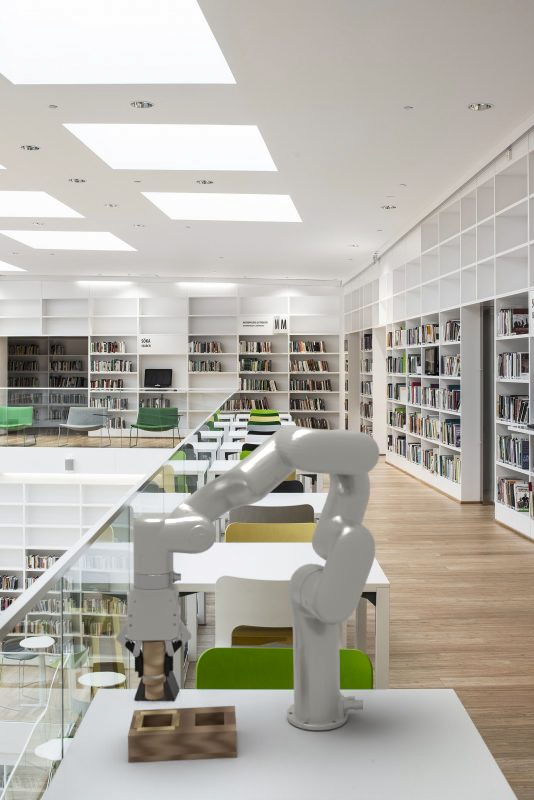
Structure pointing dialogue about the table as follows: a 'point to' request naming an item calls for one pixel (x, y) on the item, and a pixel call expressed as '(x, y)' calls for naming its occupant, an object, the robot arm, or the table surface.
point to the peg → (153, 668)
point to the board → (182, 734)
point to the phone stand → (168, 690)
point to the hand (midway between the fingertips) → (154, 673)
